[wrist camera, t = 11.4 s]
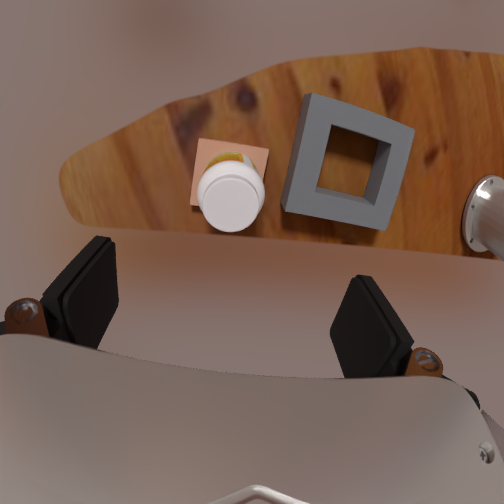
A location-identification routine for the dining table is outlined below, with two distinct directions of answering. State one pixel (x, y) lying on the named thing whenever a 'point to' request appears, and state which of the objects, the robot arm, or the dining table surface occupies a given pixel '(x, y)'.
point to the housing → (312, 153)
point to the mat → (215, 147)
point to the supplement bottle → (230, 192)
